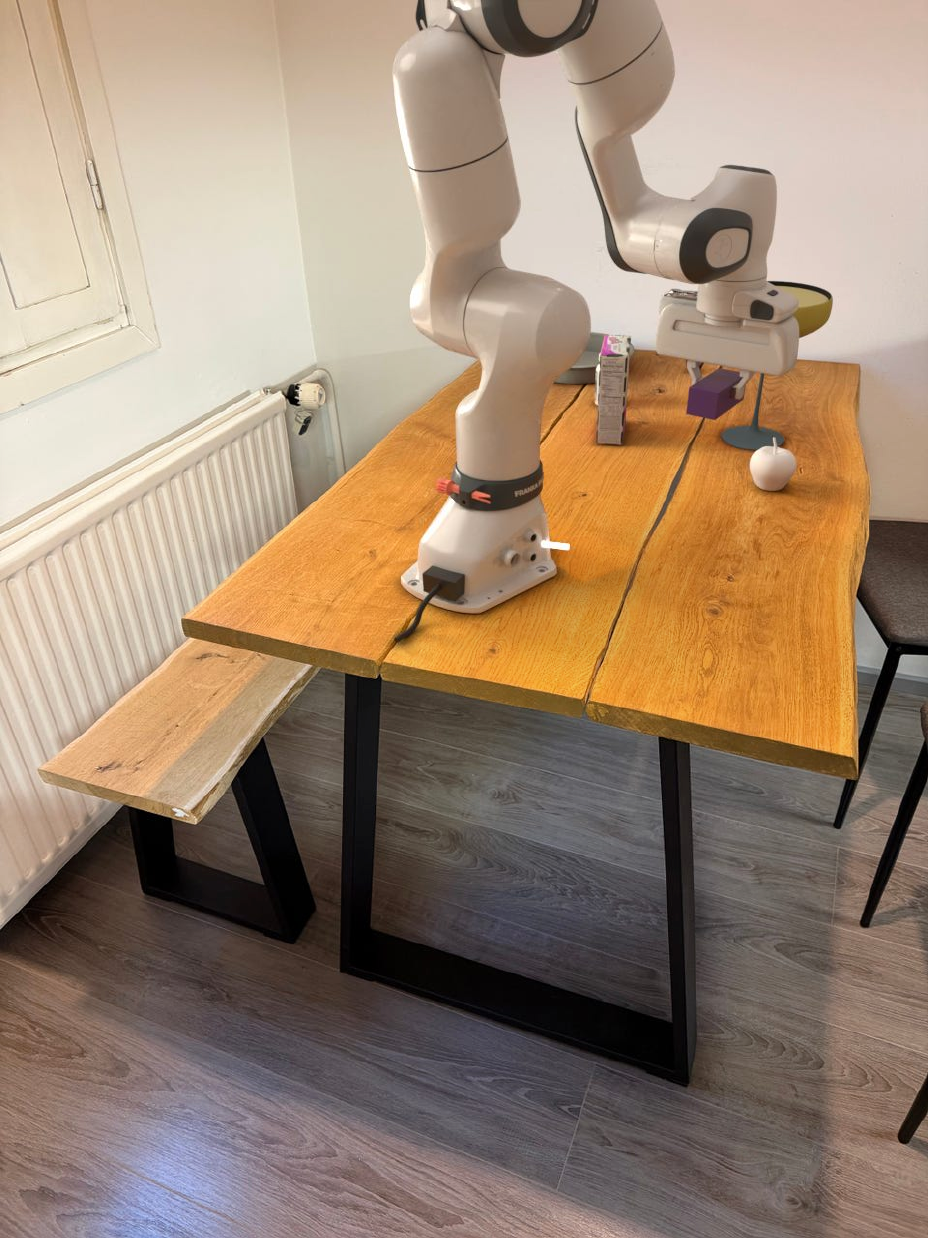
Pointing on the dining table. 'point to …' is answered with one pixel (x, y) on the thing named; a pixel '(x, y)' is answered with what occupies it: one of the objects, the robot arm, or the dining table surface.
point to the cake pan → (587, 362)
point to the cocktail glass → (810, 318)
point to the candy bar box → (613, 389)
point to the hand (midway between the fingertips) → (717, 394)
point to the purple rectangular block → (713, 394)
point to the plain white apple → (772, 467)
